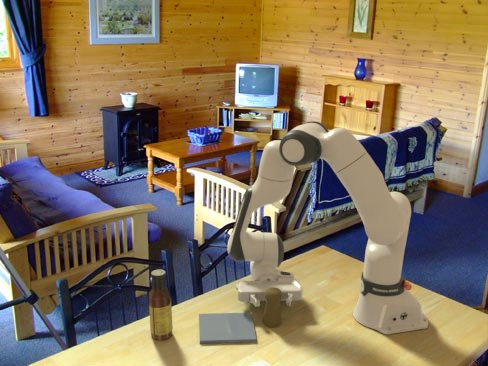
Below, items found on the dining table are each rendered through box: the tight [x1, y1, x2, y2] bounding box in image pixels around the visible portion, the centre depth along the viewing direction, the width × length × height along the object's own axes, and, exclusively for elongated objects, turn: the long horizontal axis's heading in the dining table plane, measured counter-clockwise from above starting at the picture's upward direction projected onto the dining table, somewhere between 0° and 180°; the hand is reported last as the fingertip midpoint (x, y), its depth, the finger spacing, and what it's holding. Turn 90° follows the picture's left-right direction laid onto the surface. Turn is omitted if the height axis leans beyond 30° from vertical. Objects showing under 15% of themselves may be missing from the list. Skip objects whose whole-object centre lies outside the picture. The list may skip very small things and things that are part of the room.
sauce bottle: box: [148, 269, 173, 341], centre depth 150 cm, size 6×6×20 cm
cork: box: [261, 287, 283, 329], centre depth 160 cm, size 6×6×11 cm
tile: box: [198, 312, 257, 345], centre depth 157 cm, size 16×14×1 cm
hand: (273, 304), depth 160 cm, fingers open, 8 cm apart
